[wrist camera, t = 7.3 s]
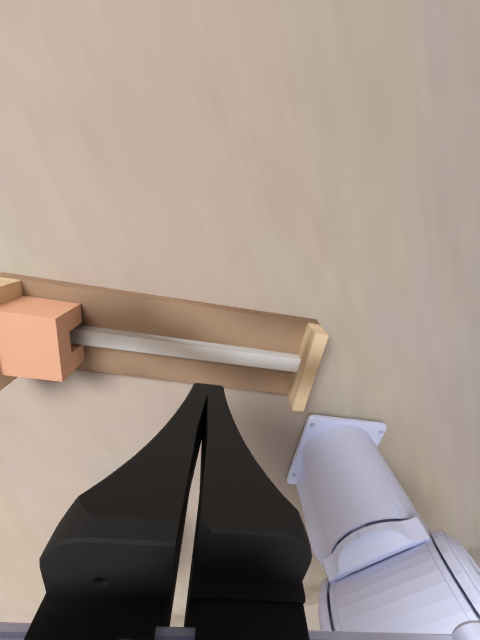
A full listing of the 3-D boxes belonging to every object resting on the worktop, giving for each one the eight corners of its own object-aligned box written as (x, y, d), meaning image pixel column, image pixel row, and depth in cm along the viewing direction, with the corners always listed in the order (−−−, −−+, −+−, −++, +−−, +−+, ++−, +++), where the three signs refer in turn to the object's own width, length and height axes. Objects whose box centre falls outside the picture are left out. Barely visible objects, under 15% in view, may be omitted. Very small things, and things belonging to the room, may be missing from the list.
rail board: (294, 388, 24) (308, 426, 19) (17, 354, 21) (-35, 389, 17) (316, 319, 21) (337, 345, 17) (2, 272, 19) (-64, 289, 15)
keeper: (84, 359, 20) (62, 381, 18) (31, 353, 20) (0, 374, 17) (80, 303, 19) (55, 318, 16) (21, 295, 18) (-14, 309, 16)
